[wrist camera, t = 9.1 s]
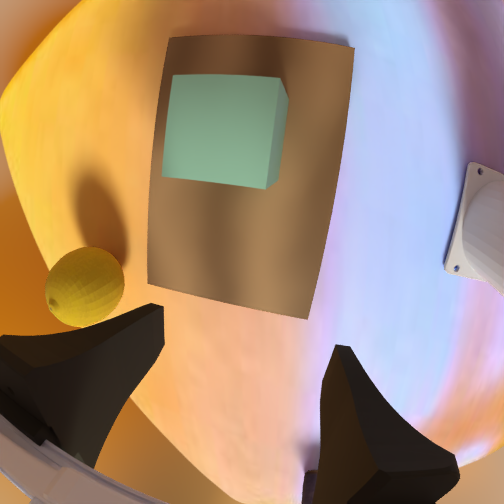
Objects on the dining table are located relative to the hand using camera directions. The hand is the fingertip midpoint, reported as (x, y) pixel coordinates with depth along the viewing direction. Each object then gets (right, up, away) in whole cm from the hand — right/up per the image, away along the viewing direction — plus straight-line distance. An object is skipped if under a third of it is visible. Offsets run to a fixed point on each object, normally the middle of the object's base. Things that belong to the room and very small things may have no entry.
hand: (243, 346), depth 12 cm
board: (0, +9, +7) cm, 12 cm away
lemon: (-11, +3, +12) cm, 16 cm away
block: (0, +11, +5) cm, 12 cm away
